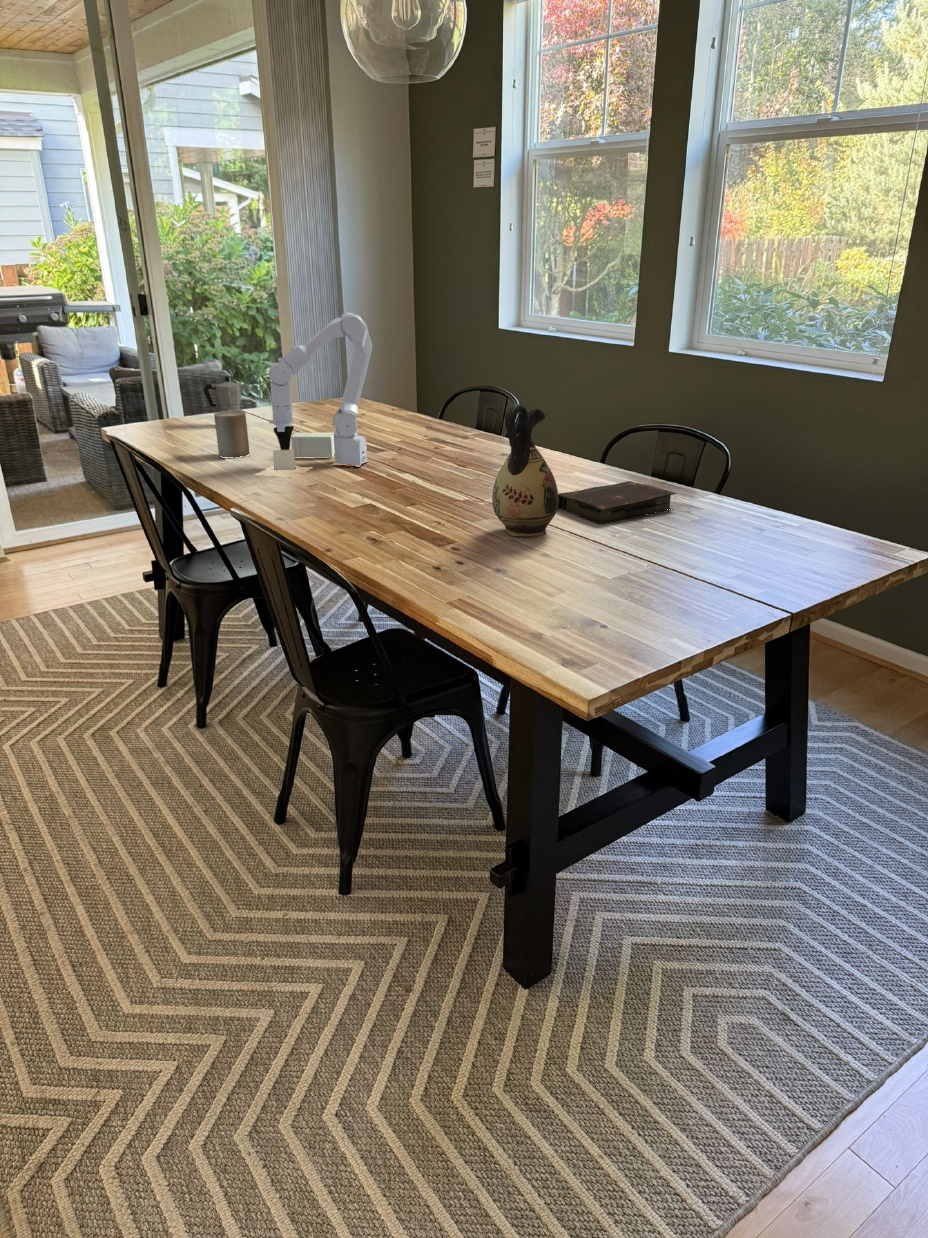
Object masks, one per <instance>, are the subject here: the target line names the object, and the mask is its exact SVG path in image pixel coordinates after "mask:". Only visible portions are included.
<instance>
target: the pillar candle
mask: <svg viewBox="0 0 928 1238" xmlns="http://www.w3.org/2000/svg"><path fill="white" fill-rule="evenodd" d="M246 415H247V414H246V412H245V411H243V410H241V411H239V410H231V411H230V410H229V411H221V412H220V411H217V412H214V413H213V417H214V423H215V424H214V426H215V434H216V441H217V443H216V444H217V448H218V449H217V450H218V457H219V456H222V457H240V456H246V455H248V454H251V453H250V444H249V436H248V425H247V417H246Z"/></svg>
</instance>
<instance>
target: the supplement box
mask: <svg viewBox="0 0 928 1238" xmlns="http://www.w3.org/2000/svg"><path fill="white" fill-rule="evenodd" d="M334 433H335V432H295V433H294V434H293V435H291V440H290V444H291V450H294V453H295V457H328V458H331V457H333V456H334V454H335V450H334ZM334 457H335V456H334ZM334 457H333V458H334Z"/></svg>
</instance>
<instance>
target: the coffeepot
mask: <svg viewBox="0 0 928 1238" xmlns="http://www.w3.org/2000/svg"><path fill="white" fill-rule="evenodd" d="M224 379H225V381H224V382H221V383H207V384H205V386H204V387H203V390H202V391H203V393H204V396H205V398H206V399H207V401H208V404H209V405H210V407H213V408H216V407H217V403H213V398H212V397H211V394H210V391H209V390H215V391H216V397H217V400H218V403H219V404H220V410H219V412H221V411H229V410H230V411H231V410H239V411H242V409H241V406H240V404H241V402H242V401H241V398H242V395H243V393H244V391H245V389H246V387H247V386H248V385H246V384H244V383H238V382H232V381H230V376H225V377H224Z"/></svg>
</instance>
